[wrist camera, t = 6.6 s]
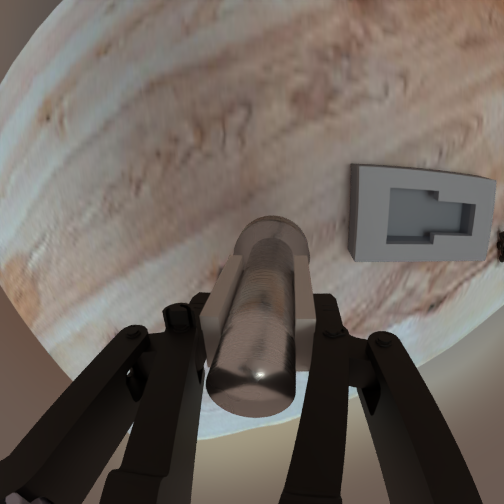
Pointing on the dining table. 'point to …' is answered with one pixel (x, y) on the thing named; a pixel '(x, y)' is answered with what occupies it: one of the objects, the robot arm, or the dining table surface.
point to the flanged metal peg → (260, 324)
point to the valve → (501, 246)
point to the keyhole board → (418, 214)
